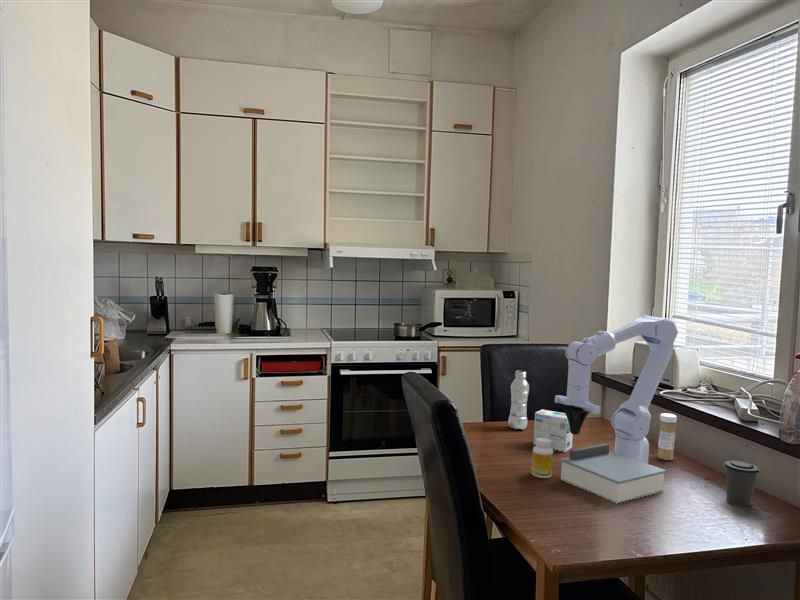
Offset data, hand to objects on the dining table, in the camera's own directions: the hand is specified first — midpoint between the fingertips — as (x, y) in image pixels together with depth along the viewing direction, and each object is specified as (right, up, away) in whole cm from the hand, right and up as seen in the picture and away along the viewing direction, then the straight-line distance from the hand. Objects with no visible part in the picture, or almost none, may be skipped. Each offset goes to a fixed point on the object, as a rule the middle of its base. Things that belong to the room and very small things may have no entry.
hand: (574, 433), depth 171 cm
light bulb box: (-1, -9, +22) cm, 24 cm away
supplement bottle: (-10, -11, -4) cm, 15 cm away
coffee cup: (+36, -14, -17) cm, 42 cm away
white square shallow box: (+6, -11, -10) cm, 17 cm away
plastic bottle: (-8, -7, +41) cm, 42 cm away
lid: (+7, -6, -11) cm, 14 cm away
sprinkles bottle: (+32, -11, +15) cm, 37 cm away
